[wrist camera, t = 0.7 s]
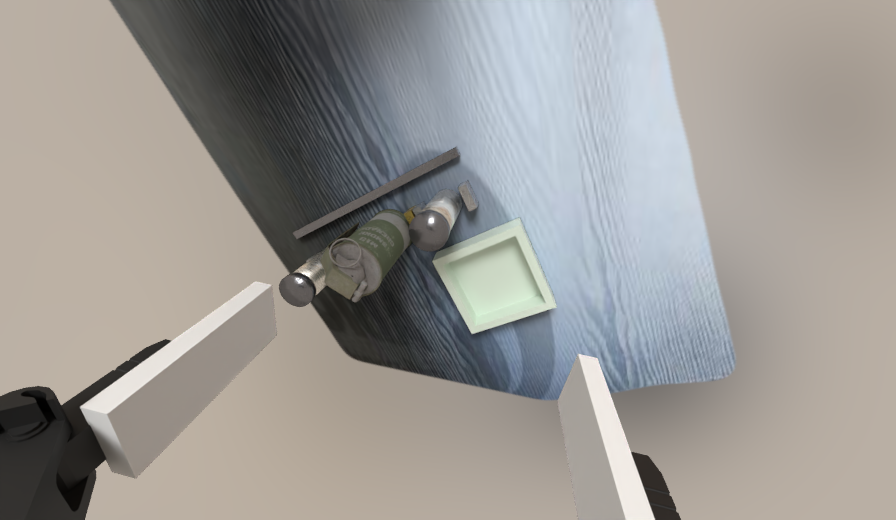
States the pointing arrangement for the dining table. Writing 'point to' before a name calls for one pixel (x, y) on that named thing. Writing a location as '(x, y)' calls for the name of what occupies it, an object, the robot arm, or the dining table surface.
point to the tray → (495, 277)
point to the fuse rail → (425, 220)
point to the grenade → (365, 254)
